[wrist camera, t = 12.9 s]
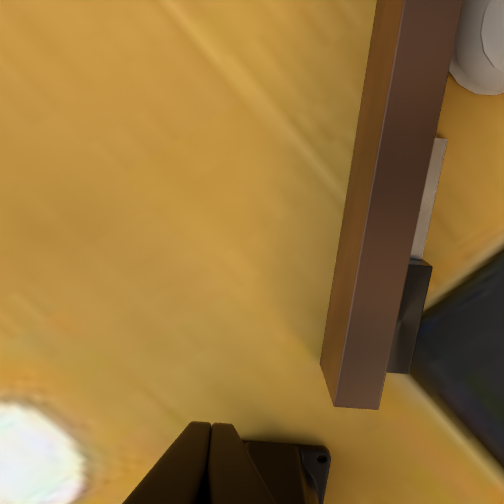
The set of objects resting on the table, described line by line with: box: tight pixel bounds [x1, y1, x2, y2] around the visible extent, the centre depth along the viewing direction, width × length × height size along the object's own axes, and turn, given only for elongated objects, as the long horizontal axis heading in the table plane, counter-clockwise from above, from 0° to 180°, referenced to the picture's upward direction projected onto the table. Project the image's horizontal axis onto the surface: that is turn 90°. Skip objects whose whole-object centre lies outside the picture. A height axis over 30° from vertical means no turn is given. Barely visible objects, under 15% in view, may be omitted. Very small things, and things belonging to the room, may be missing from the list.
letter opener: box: [386, 138, 448, 374], centre depth 20 cm, size 11×2×1 cm, turn 175°
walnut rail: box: [320, 0, 463, 410], centre depth 17 cm, size 20×2×4 cm, turn 175°
